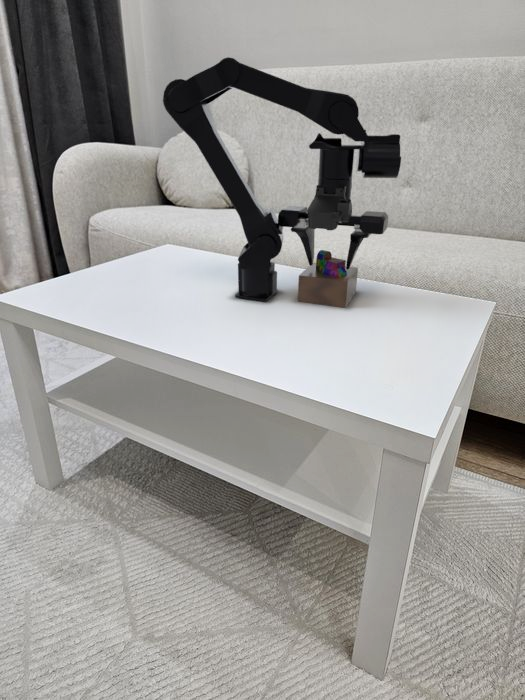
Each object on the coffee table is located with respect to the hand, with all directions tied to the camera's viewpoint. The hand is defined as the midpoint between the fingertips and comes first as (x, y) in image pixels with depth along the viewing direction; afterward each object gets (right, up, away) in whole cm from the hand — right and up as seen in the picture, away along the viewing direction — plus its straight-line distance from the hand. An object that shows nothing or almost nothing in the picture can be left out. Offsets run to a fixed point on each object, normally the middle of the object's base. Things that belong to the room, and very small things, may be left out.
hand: (329, 266), depth 88 cm
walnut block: (0, -5, +3) cm, 6 cm away
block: (0, -1, 0) cm, 1 cm away
